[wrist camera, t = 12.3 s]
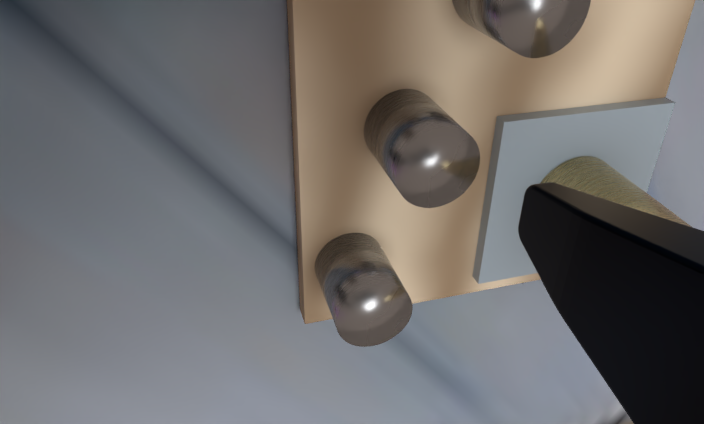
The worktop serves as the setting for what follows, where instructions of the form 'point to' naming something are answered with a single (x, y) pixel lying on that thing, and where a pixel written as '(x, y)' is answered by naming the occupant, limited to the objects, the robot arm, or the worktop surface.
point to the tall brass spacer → (607, 185)
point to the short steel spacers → (426, 166)
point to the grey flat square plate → (549, 152)
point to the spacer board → (456, 100)
